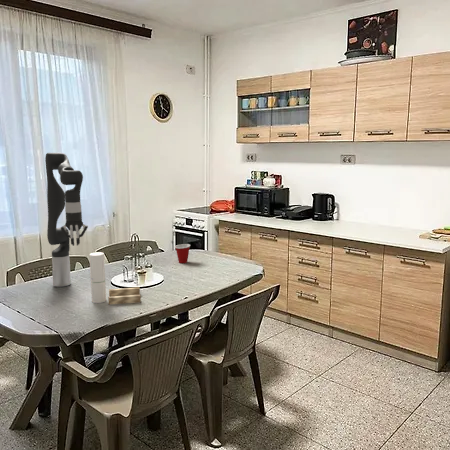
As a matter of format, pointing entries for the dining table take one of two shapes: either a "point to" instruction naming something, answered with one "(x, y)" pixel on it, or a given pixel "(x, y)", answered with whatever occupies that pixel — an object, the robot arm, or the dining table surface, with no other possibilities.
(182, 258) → the plastic cup
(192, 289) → the dining table surface
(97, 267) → the cylindrical container
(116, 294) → the rest
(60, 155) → the robot arm
